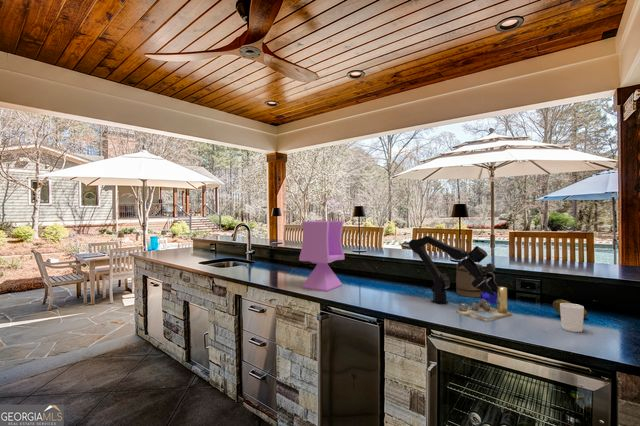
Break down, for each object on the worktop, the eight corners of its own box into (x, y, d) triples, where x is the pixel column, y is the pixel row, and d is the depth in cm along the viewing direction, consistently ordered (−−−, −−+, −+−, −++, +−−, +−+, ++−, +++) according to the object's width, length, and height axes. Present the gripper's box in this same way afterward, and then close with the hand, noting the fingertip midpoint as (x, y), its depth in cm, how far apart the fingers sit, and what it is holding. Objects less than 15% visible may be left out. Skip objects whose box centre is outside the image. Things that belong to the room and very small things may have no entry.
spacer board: (455, 312, 155) (455, 310, 155) (481, 306, 164) (481, 304, 164) (486, 322, 140) (486, 319, 140) (512, 315, 150) (512, 313, 150)
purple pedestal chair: (327, 292, 197) (327, 221, 197) (299, 288, 209) (299, 221, 210) (344, 285, 216) (344, 221, 216) (317, 282, 228) (317, 220, 228)
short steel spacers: (458, 310, 155) (458, 303, 155) (481, 305, 163) (481, 298, 163) (473, 314, 148) (473, 307, 148) (496, 309, 156) (496, 302, 156)
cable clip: (480, 297, 183) (480, 287, 183) (488, 298, 182) (488, 287, 182) (487, 303, 171) (487, 292, 171) (496, 303, 170) (496, 292, 170)
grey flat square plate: (471, 314, 148) (471, 313, 148) (482, 312, 152) (482, 310, 152) (487, 319, 141) (487, 318, 141) (498, 316, 145) (498, 315, 145)
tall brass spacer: (495, 311, 152) (495, 287, 152) (500, 310, 154) (500, 286, 154) (504, 314, 148) (503, 288, 149) (508, 312, 150) (508, 288, 150)
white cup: (555, 326, 135) (555, 303, 135) (572, 325, 135) (571, 302, 135) (571, 333, 127) (571, 308, 127) (589, 332, 127) (589, 307, 128)
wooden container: (484, 293, 193) (483, 257, 193) (481, 298, 180) (481, 260, 181) (458, 290, 201) (457, 256, 201) (454, 295, 188) (453, 259, 189)
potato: (589, 322, 139) (588, 304, 139) (553, 317, 146) (552, 300, 147) (587, 317, 146) (586, 300, 146) (552, 312, 153) (552, 296, 153)
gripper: (478, 260, 150) (504, 286, 142) (490, 256, 164) (514, 280, 156) (461, 274, 156) (485, 300, 148) (474, 269, 169) (497, 293, 161)
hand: (496, 293), depth 153 cm, fingers open, 9 cm apart
